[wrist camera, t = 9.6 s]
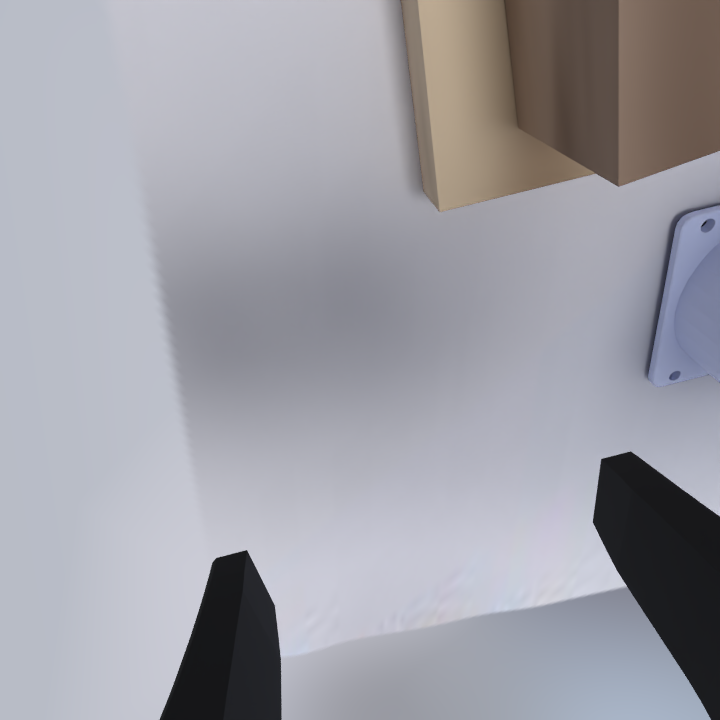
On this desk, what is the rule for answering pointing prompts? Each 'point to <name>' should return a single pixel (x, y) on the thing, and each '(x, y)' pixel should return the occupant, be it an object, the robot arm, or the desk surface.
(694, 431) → the desk surface
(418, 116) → the oak slab
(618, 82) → the walnut block
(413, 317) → the desk surface
